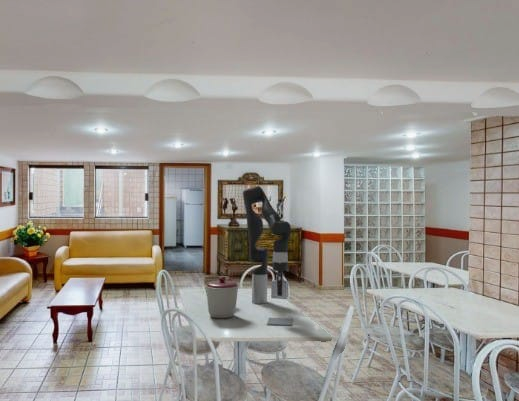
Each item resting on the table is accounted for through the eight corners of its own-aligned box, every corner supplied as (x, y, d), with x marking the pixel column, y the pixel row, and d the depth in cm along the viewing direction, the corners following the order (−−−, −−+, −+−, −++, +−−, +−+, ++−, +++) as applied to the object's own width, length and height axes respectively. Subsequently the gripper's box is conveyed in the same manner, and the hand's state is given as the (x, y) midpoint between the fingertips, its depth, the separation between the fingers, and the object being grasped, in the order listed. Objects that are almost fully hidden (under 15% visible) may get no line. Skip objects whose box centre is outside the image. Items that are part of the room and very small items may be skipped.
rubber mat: (268, 318, 222) (268, 317, 222) (291, 319, 221) (291, 318, 221) (267, 325, 210) (267, 323, 210) (291, 325, 209) (291, 324, 209)
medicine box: (288, 297, 217) (288, 280, 217) (286, 299, 213) (286, 282, 213) (273, 296, 219) (273, 279, 220) (271, 298, 215) (271, 281, 215)
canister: (236, 311, 237) (237, 273, 237) (241, 320, 219) (241, 278, 219) (203, 312, 234) (204, 274, 234) (205, 321, 216) (205, 279, 216)
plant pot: (232, 306, 249) (232, 278, 249) (207, 308, 243) (207, 280, 243) (224, 300, 263) (224, 274, 263) (200, 302, 257) (200, 276, 257)
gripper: (273, 258, 224) (273, 291, 223) (271, 262, 209) (271, 297, 209) (287, 259, 223) (287, 291, 223) (287, 262, 209) (286, 297, 209)
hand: (279, 294), depth 216 cm, fingers closed on medicine box, 5 cm apart
